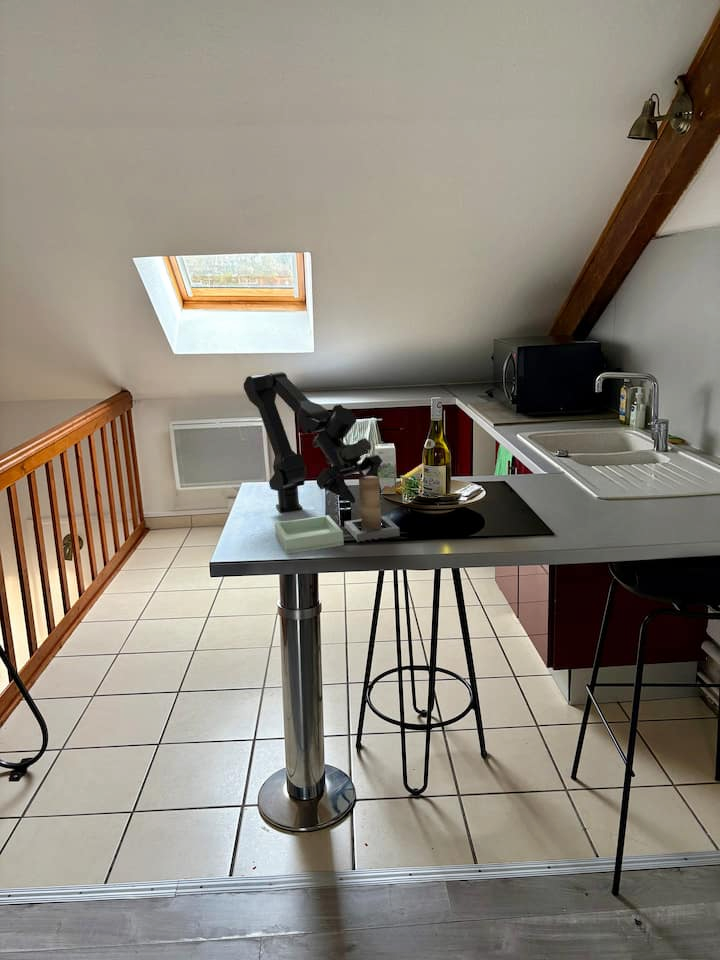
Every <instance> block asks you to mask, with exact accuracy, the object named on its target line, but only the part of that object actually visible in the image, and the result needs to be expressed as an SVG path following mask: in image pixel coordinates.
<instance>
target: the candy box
mask: <svg viewBox="0 0 720 960" xmlns="http://www.w3.org/2000/svg"><path fill="white" fill-rule="evenodd" d="M422 464H423V463H421V464H419V465H418V466H416V467H414V468H413V469H412V470H410V471H409V472H407V473H405V474H404V475H403V476H401V494H402V493H403V488H404V482H405V479H407V478H408V477H411V476H414V477H419V478H420V477H421V474H422Z"/></svg>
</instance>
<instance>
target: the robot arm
mask: <svg viewBox="0 0 720 960" xmlns="http://www.w3.org/2000/svg"><path fill="white" fill-rule="evenodd" d="M243 391H244V392H245V394H246V396H247V398H248V401H249V402H251V403H252V404H253V405H254V406H256V408H257V409H258V413H259V414H260V417H261V418H260V419H261V420H262V423H263V426H264V429H265V432H266V434H267V437H268V440H269V443H270V445H271V449H272V451H273V454H274V459H273V464H272V465H273V466H272V468H273V472H274V473H273V475H272V476H271V478H270V479H269V481H268V484H269V488H270V490H273V491H277V499H278V503H277V504H275V507H276V509H277V511H278V512H279V513H283V512H285V513H286V512H292V511H298V510H300V511H301V510H303V506H302V505H301V504H300V499H299V490H298V489H299V487H300V486H304V485H305V481H306V476H307V468H306V467H307V466H306V464H305V462H304V459H303V455H302V454H301V453H296V452H295V451H294V450H293V449H292V446H291V444H290V441H289V438H288V434H287V432H286V430H285V427H284V424H283V421H282V418H281V416H280V413H279V410H278V407H277V403H276V398H277V395H278V396H279V397H280V399H281V400H283V402H284V403H285V404H286V405H287V406H288V408H290V409H291V410H292V411H293V412H294V413H295V414H296V419H297V424H299V426H300V427H301V429H302V430H303V431H304V433H306V434H314V433H317V432H318V434H317V435H316V436H313V440H312V447H313V448H318V447H319V448H320V449H321V451H322V452H323V454H324V455H325V457H326V460H325V462H326V465H330V464H331V466H328V467H325V468H323V469H322V471H321V472H320V473H319V475H318V476H317V477H316V485H317V486H318V488H319V490H320V491H321V490H325V492H331V493H333V494H336V495H337V496H339V497H341V499H345V500H346V501H347V502H349V503H351V504H354V503H356V498H355V496H354V494H353V493H352V491H351V490H350V488H349V487H348V485H347V483H346V482H345V481H346V480H345V477H347V476H350V475H353V474H356V473H358V474H359V475H360V476H361V477H365V476H376V477H378V468H379V467H380V464H381V463H382V462H383V461H382V460H381V458H380V457H379V455H375V454H372V455H368V454H369V453H370V452H369V451H370V450H372V446H371V443H370V441H369V440H368V439H367V438H366V437H365V438H361V439H360V440H358V441H357V442H355V443H352V444H349V443H348V444H347V443H345V442H344V441H343V439H345V438H346V437H347V436H348V434H349V433H350V431H351V430H352V428H353V427H354V426H355V424H356V423H357V415H356V414H355V412H353V411H352V410H350V409H348V408H346V407H344V406H343V405H342V404H336V405H334V406H333V408H332V410H331V412H329V410H328V409H327V408H325V407H324V406H322V405H321V404H319V403H315V402H312V401H311V400H310V399H308V397H306V395H305V394H304V393H302V391H300V389H298V388H297V386H296V385H295V384H294V383H293V382H292V381H291V380H290V379H289V378H288V376H287V374H286V373H285V372H283V371H276V372H271V373H261V374H255V375H254V374H253V375H249V376H247V377H246V378H245V380H244V382H243ZM364 455H368V456H365V457H364V458H363V460H362V456H364ZM361 460H362V461H361ZM360 461H361V463H359V462H360ZM379 487H380V494H381V493H382V490H381V486H380V483H379Z"/></svg>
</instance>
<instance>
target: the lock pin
mask: <svg viewBox="0 0 720 960" xmlns="http://www.w3.org/2000/svg"><path fill="white" fill-rule="evenodd" d="M358 488H359V503H360V508H359V509H360V519H361V527H362V528H361V532H363V531H369V530H376V529H382V528H383V527H382V525H381V516H382V513H381V512H382V511H381V495H380V487H379V477H376V476H365V477H364V476H361V477H359V478H358Z"/></svg>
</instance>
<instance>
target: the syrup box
mask: <svg viewBox="0 0 720 960" xmlns="http://www.w3.org/2000/svg"><path fill="white" fill-rule="evenodd" d="M374 455H379V457H380V458H381V460H382V461H383V462H382V463H381V464H380V467H379V468H378V477H379V483H380V486H381V488H382V487H384V486H389V487H392V486H397V461H396V460H397V459H396V456H397V455H396V447H395V444H394V443H379V444H374Z"/></svg>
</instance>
